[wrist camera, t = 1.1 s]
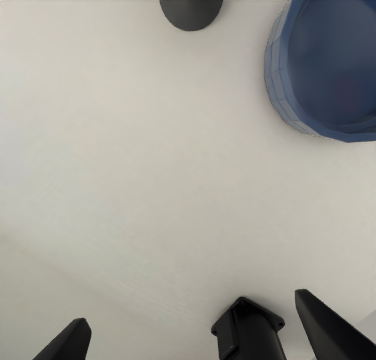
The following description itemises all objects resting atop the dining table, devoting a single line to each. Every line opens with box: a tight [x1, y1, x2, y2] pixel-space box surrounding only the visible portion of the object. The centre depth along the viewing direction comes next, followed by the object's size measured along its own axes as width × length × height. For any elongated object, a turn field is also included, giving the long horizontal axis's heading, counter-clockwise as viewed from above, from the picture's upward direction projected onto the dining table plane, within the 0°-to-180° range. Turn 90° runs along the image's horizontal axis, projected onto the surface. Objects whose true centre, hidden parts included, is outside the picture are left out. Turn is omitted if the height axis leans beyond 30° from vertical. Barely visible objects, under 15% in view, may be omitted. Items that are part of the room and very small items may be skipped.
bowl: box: [264, 0, 376, 143], centre depth 15 cm, size 12×12×4 cm
